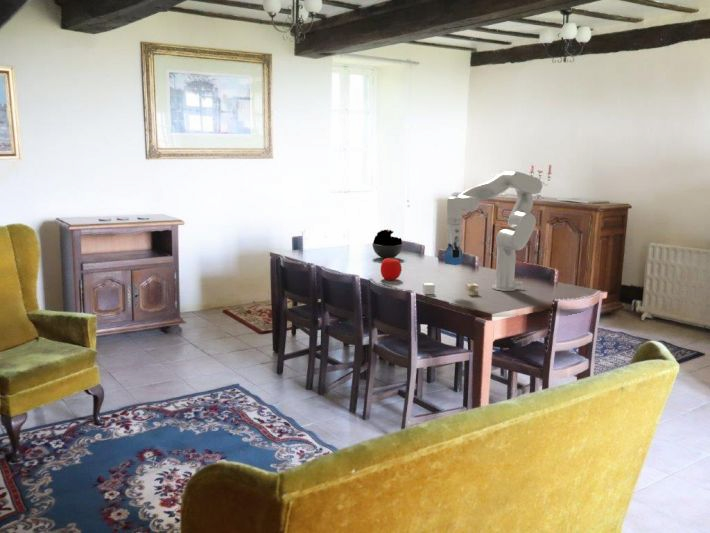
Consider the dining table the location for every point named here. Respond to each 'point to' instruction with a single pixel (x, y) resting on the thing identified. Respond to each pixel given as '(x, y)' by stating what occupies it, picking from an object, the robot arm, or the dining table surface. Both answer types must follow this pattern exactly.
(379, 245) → the coal bowl
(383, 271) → the tomato
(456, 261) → the perfume bottle
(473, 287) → the birch block
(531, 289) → the dining table surface
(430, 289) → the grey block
